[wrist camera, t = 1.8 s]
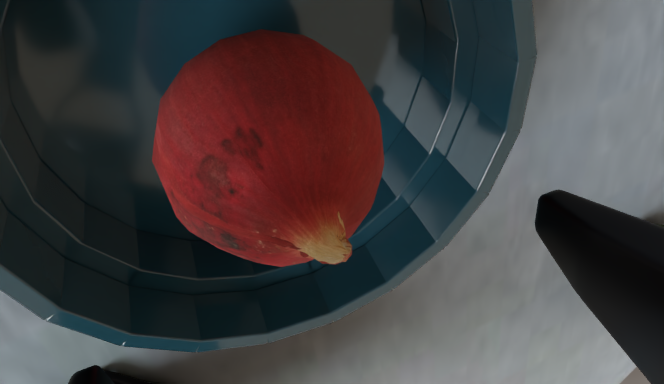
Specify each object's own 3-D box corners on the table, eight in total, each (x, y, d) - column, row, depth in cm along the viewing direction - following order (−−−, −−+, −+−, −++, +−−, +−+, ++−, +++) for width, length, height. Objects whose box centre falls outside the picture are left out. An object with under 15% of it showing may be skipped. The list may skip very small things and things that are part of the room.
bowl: (241, 306, 23) (265, 395, 20) (-184, 104, 13) (-278, 215, 10) (517, 64, 20) (600, 121, 17) (235, -424, 10) (300, -520, 7)
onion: (181, 184, 18) (223, 387, 12) (110, 23, 14) (120, 202, 8) (340, 132, 19) (451, 296, 13) (314, -32, 15) (455, 94, 9)
